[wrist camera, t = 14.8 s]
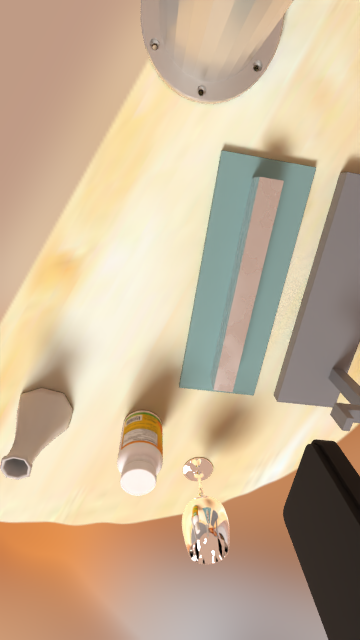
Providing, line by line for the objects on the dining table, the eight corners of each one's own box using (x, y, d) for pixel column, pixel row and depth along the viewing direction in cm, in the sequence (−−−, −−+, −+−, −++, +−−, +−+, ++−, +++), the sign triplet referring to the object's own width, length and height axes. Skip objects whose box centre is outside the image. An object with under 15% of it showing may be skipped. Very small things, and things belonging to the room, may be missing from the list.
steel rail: (252, 177, 35) (259, 176, 32) (274, 181, 35) (283, 180, 32) (209, 377, 43) (213, 390, 40) (227, 379, 43) (232, 392, 41)
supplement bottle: (153, 445, 47) (151, 505, 38) (117, 433, 46) (106, 493, 37) (168, 416, 46) (170, 472, 37) (131, 403, 45) (124, 458, 36)
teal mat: (221, 151, 34) (222, 150, 34) (313, 168, 35) (316, 167, 35) (179, 385, 44) (179, 387, 43) (252, 392, 45) (253, 395, 45)
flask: (13, 387, 43) (-28, 441, 34) (70, 386, 43) (46, 439, 34) (22, 432, 46) (-14, 495, 36) (76, 431, 46) (54, 492, 37)
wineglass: (171, 475, 50) (174, 558, 38) (192, 448, 48) (201, 526, 37) (203, 489, 51) (215, 573, 40) (224, 463, 49) (243, 543, 38)
